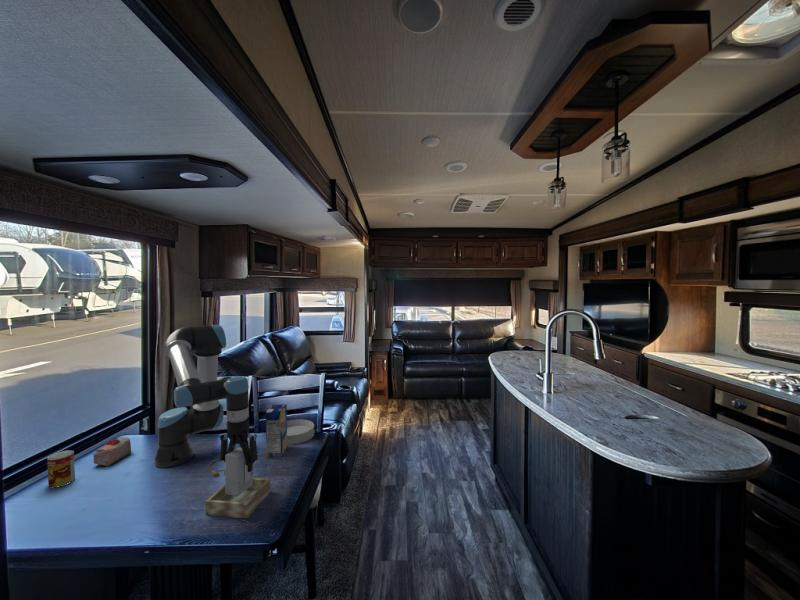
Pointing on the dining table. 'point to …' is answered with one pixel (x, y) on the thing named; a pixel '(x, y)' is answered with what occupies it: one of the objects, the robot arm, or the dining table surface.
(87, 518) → the dining table surface
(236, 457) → the skincare box
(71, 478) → the canned food
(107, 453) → the food item
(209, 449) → the dining table surface
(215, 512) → the birch box
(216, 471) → the extension cord
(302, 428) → the dish
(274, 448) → the beverage box
